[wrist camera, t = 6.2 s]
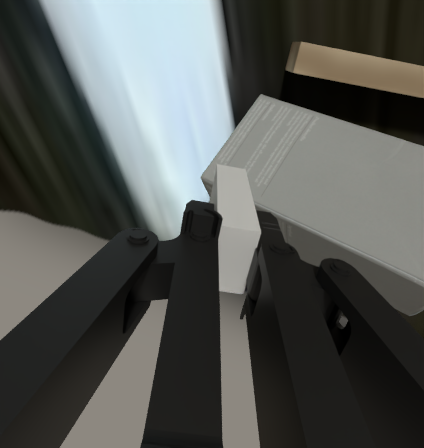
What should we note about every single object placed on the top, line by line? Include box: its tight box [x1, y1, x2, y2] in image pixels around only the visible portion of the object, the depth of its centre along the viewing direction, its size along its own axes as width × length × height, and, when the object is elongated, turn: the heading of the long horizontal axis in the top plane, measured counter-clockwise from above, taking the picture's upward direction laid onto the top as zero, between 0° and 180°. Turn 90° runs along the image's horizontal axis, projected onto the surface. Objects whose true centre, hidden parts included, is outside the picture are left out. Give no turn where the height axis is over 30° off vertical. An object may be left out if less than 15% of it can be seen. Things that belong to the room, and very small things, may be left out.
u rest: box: [285, 42, 424, 98], centre depth 28 cm, size 15×18×5 cm
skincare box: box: [201, 94, 424, 316], centre depth 23 cm, size 8×7×16 cm
